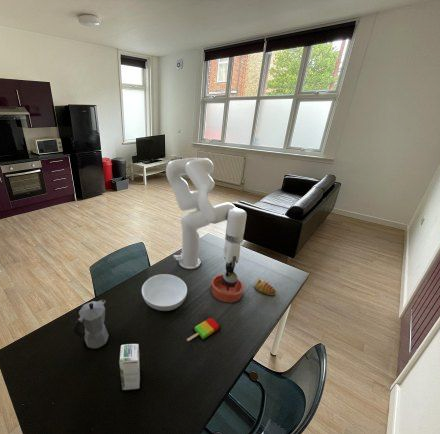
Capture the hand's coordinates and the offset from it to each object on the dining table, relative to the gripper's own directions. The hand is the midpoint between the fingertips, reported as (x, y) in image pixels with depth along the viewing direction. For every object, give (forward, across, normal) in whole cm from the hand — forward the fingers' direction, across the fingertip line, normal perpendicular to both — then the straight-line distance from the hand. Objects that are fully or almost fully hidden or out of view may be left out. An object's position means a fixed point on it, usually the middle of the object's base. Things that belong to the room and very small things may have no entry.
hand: (229, 270), depth 111 cm
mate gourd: (+9, 0, 0) cm, 9 cm away
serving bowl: (+13, +7, -30) cm, 34 cm away
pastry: (+13, -3, +19) cm, 23 cm away
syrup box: (+13, +44, -39) cm, 60 cm away
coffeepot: (+13, +30, -56) cm, 65 cm away
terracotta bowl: (+13, 0, 0) cm, 13 cm away
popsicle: (+13, +24, -14) cm, 31 cm away
